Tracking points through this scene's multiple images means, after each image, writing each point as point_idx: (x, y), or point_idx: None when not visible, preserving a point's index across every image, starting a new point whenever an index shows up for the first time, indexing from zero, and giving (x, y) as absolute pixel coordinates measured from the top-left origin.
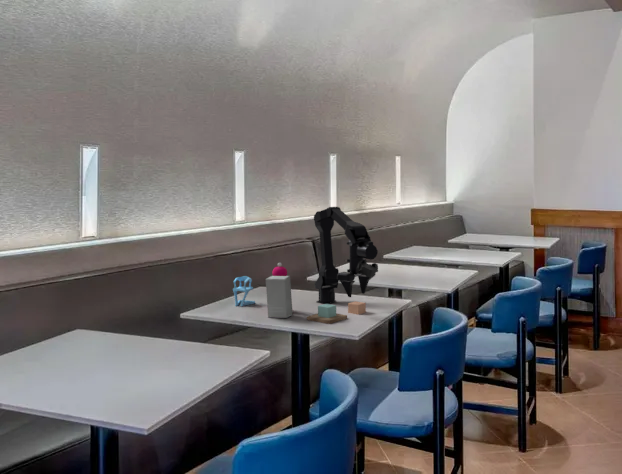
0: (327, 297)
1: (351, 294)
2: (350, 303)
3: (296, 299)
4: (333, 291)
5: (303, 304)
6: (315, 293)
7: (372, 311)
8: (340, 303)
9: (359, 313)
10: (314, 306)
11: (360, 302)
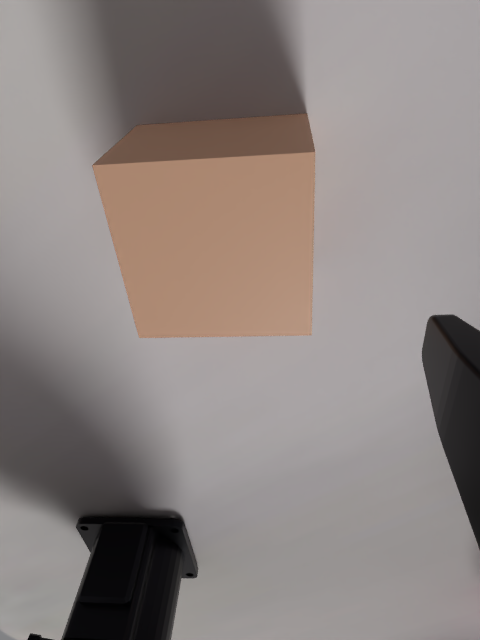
0: (154, 573)
1: (454, 343)
2: (298, 308)
3: (219, 634)
4: (84, 609)
5: (291, 584)
6: (47, 634)
7: (26, 87)
8: (84, 485)
9: (276, 118)
10: (291, 536)
11: (136, 249)
